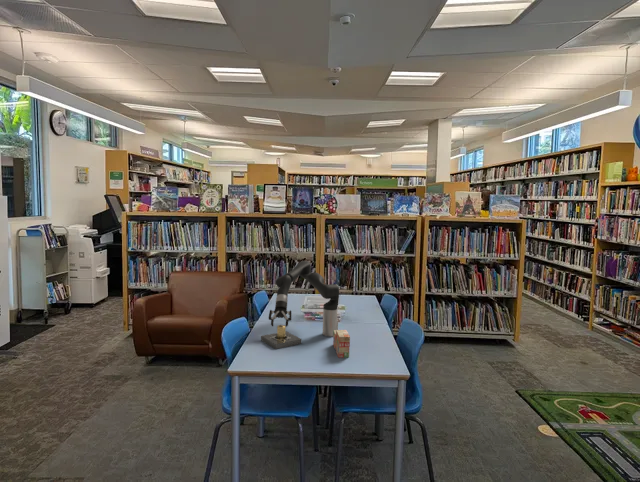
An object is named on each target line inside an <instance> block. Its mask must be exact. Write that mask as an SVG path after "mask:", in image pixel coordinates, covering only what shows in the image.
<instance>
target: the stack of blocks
mask: <svg viewBox="0 0 640 482" xmlns="http://www.w3.org/2000/svg"><path fill="white" fill-rule="evenodd" d="M332 338H333V342H332V345H333V347H334V350H335V352H336V355H337V357H338V358H339V359H340V358H341V359H342V358H345V359H346V358H350V346H351V345H350V343H351V336H350V334H349V332H348V331H347V329H338V330H333V336H332Z"/></svg>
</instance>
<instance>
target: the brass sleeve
mask: <svg viewBox="0 0 640 482" xmlns="http://www.w3.org/2000/svg"><path fill="white" fill-rule="evenodd" d="M276 328H277V331H276V333H277V339H285V331H286V328H287V327H286V324H284V325H283V324H278V325H277V327H276Z"/></svg>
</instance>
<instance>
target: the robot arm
mask: <svg viewBox="0 0 640 482" xmlns="http://www.w3.org/2000/svg"><path fill="white" fill-rule="evenodd" d="M311 268H312V264H311V262H310V261H308V260H301V261H300V262H298V264H297V265H296V266H295V267H293V269H291V270H290V271H289V272H287V273H286V274H283V275H282V276H279V277H278V278H277V279H276V281H275V285H276V286H277V287H278V289H277V291H276V299H275V304H274V305H275V307H274V310H272V309H269V314H268V320H269V321H270V325H271V327H274V324H275V323H274V321H275V319H284V320H285V326H286V328H287V327H288V326H289V322H291V321H292V310H291V309H290V310H288V309H287V308H288V300H289V299H288V296H289V290H290V288H291V285H292V283H293V282H294V281H296V280H297V279H298V278H299V276H300V277H301V278H303V279H304V280H306V281H307V282H308V283H309V284H310V285H311V286H313V288H315V289H316V291H317V292H318V293H319V294H320V296H321V297H322V298H323V299H325V300H326V299H327V300H329V301H326V302H325V303H323V307H322V308H323V310H322V313H323V314H322V336H325V337H333V330H339V320H338V306H339V300H340V287H339V285H338V284H335V283H334V284H332V283H331V284H330V283H329V284H325V278H324V276H322V275H321V274H320V273H318V272H315V271H313V272H312V271H311V270H312V269H311ZM272 315H273V316H272ZM287 315H289V317H288V316H287Z"/></svg>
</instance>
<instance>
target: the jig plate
mask: <svg viewBox="0 0 640 482" xmlns="http://www.w3.org/2000/svg"><path fill="white" fill-rule="evenodd" d="M260 341H261V342H263V343H265V344H266V345H268V346H269V347H271V348H273V349H275V350H278V349H282V348H283V349H284V348H288V347H293V346H298V345H302V341H303V340H302V338H300V337H298V336H296V335H294V334H292V333H290V332H288V331H286V330H285V339H277V332H274V333H269V334H263V335H260Z"/></svg>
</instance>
